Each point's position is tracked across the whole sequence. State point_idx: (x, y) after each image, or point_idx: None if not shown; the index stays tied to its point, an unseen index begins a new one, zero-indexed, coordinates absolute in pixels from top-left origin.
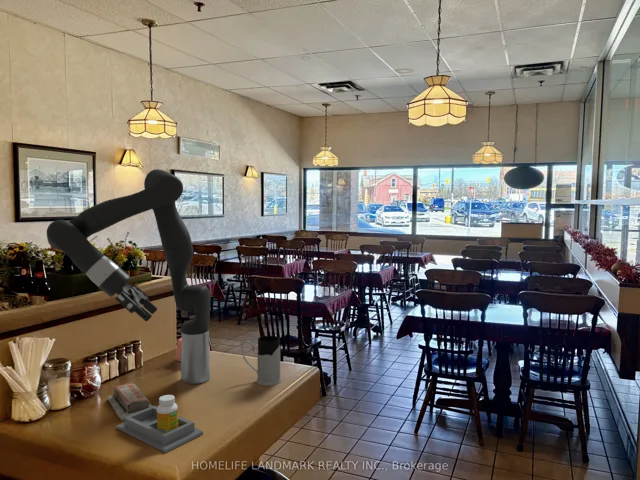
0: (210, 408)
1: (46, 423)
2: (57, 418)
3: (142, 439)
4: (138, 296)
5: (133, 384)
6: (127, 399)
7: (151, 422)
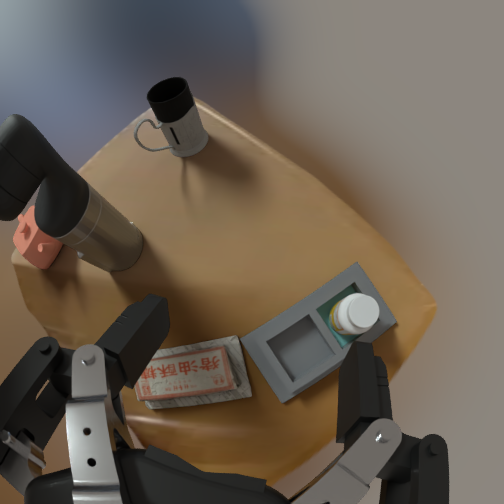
0: (260, 238)
1: None
2: None
3: None
4: (162, 461)
5: None
6: (217, 387)
7: (331, 345)
